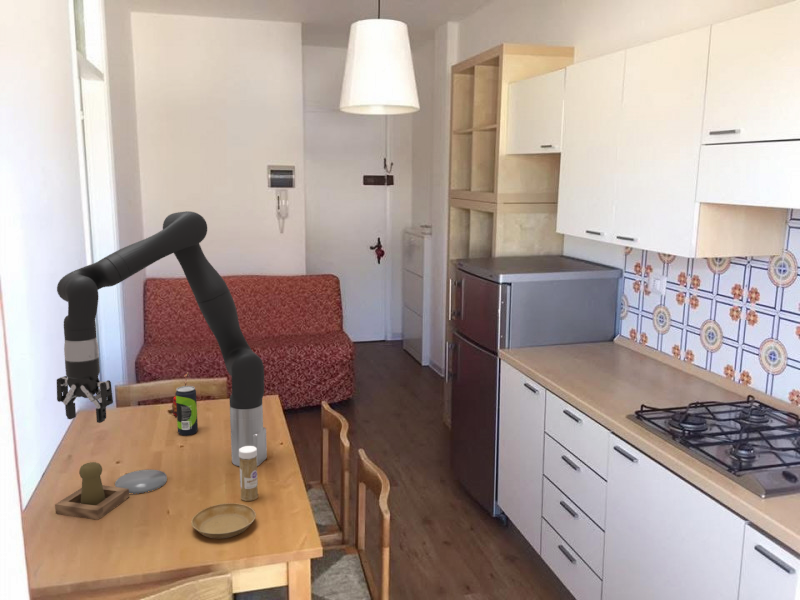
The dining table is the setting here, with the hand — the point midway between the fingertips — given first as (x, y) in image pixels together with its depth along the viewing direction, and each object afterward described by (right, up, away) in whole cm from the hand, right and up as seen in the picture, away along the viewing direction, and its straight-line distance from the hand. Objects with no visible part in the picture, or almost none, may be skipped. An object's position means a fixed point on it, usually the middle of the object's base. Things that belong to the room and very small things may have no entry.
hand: (86, 420), depth 165 cm
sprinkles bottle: (+38, -22, +8) cm, 45 cm away
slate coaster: (+7, -20, +16) cm, 27 cm away
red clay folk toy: (+2, -11, +69) cm, 70 cm away
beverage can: (+9, -14, +52) cm, 55 cm away
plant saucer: (+36, -25, -6) cm, 44 cm away
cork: (0, -22, +4) cm, 23 cm away
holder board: (0, -22, +4) cm, 23 cm away
